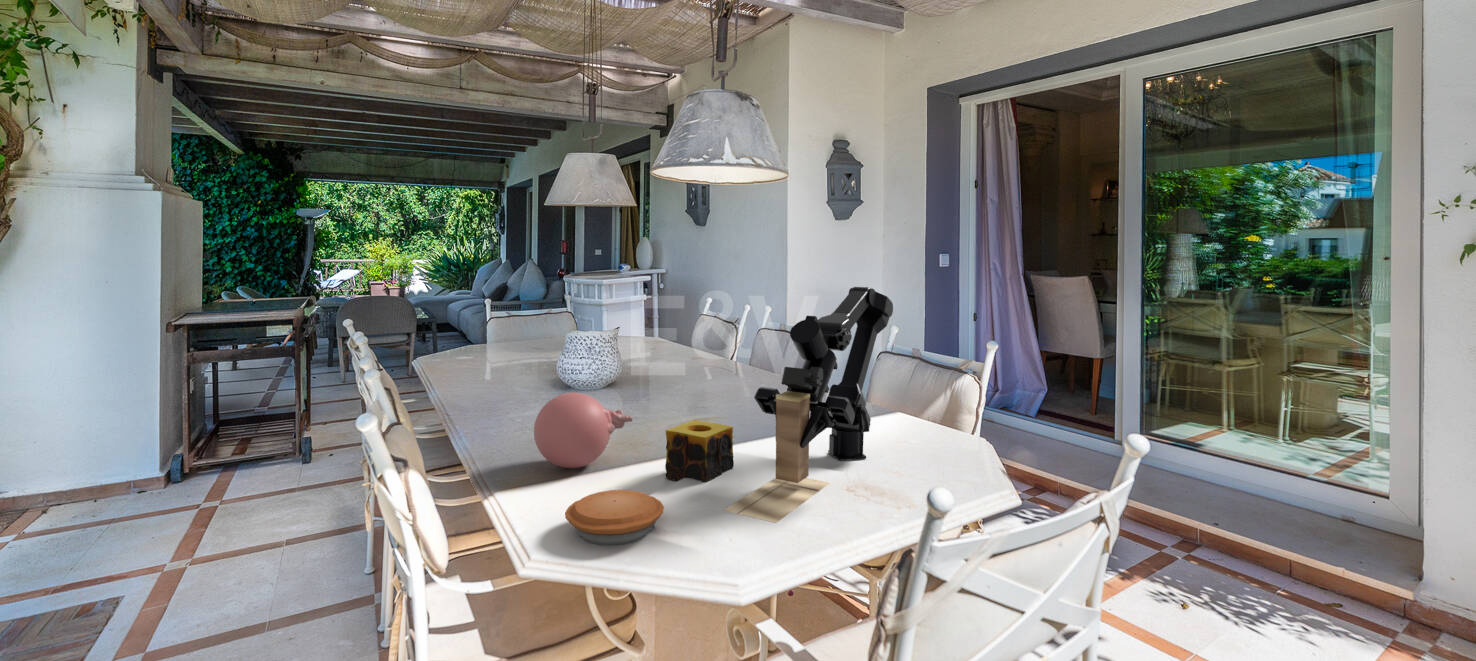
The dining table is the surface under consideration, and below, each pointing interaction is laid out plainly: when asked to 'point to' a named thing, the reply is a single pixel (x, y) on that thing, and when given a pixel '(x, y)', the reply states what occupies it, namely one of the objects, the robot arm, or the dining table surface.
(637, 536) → the pie
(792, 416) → the tall wooden pillar
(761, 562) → the dining table surface
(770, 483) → the board
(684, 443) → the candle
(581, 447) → the balloon
